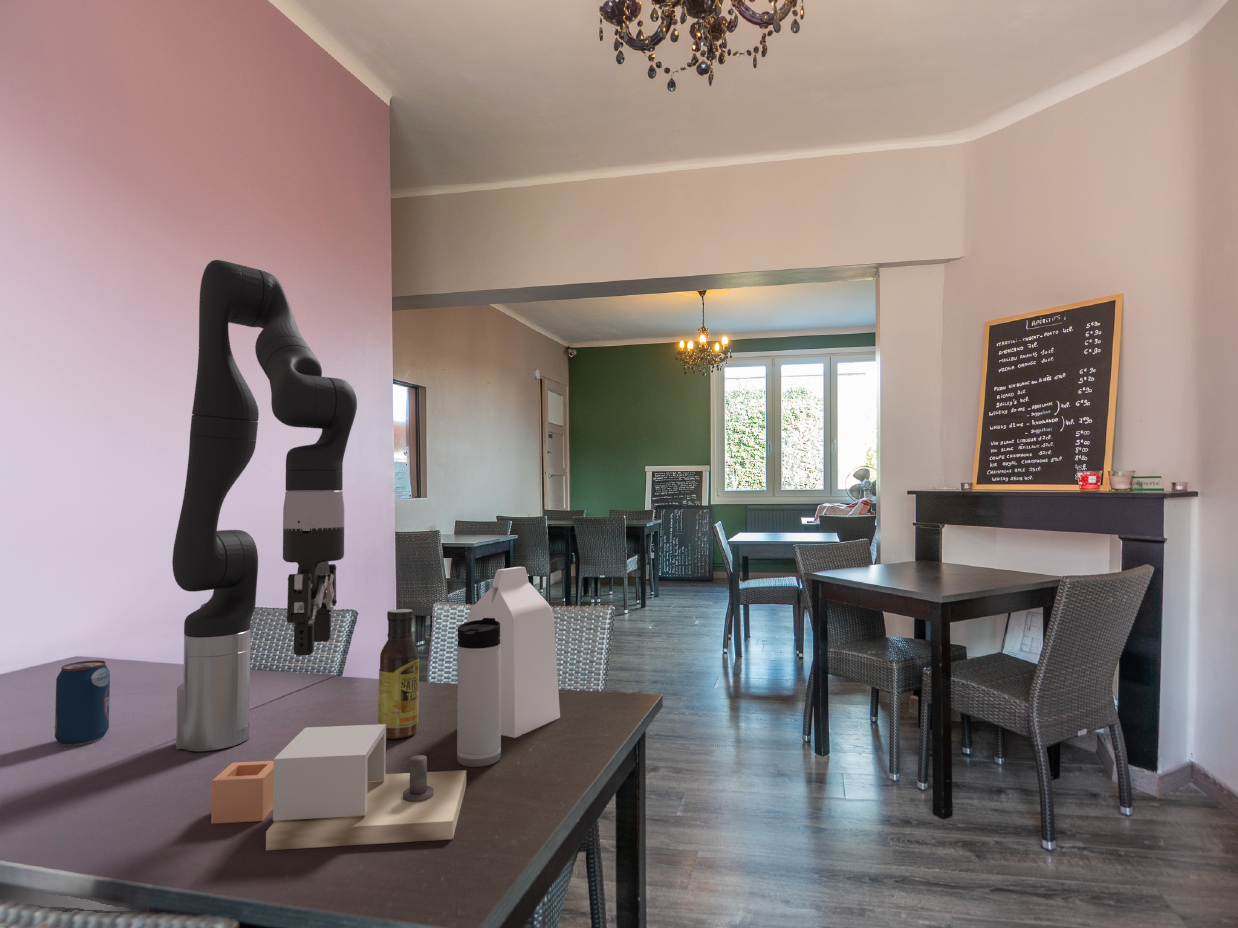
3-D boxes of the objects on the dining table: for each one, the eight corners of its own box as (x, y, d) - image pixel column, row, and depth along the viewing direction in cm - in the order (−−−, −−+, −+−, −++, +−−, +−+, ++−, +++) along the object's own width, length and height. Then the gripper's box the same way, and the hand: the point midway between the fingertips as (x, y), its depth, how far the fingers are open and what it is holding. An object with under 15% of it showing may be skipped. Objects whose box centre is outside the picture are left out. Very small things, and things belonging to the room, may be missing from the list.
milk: (514, 737, 114) (514, 573, 115) (461, 725, 120) (461, 570, 121) (560, 717, 124) (559, 566, 126) (509, 707, 131) (508, 563, 132)
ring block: (211, 823, 85) (211, 780, 85) (232, 802, 91) (232, 762, 91) (262, 820, 86) (263, 777, 86) (280, 800, 91) (280, 760, 92)
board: (265, 850, 78) (266, 789, 79) (309, 793, 93) (310, 742, 94) (452, 838, 81) (452, 780, 81) (466, 785, 96) (466, 735, 96)
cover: (272, 820, 80) (273, 758, 81) (304, 781, 91) (305, 727, 92) (365, 815, 82) (365, 754, 82) (385, 777, 93) (385, 723, 93)
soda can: (118, 736, 117) (119, 661, 117) (70, 750, 110) (72, 671, 111) (92, 730, 119) (94, 657, 120) (44, 743, 113) (46, 666, 114)
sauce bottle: (406, 741, 113) (406, 614, 113) (370, 739, 114) (370, 613, 115) (425, 728, 119) (426, 607, 120) (391, 726, 120) (391, 606, 121)
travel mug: (509, 753, 107) (509, 618, 108) (487, 769, 101) (487, 626, 102) (472, 749, 109) (472, 616, 110) (448, 764, 103) (448, 623, 104)
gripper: (300, 523, 102) (299, 638, 102) (265, 527, 88) (264, 661, 87) (355, 522, 103) (354, 636, 103) (330, 526, 89) (329, 658, 89)
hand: (313, 647), depth 95 cm, fingers open, 8 cm apart
